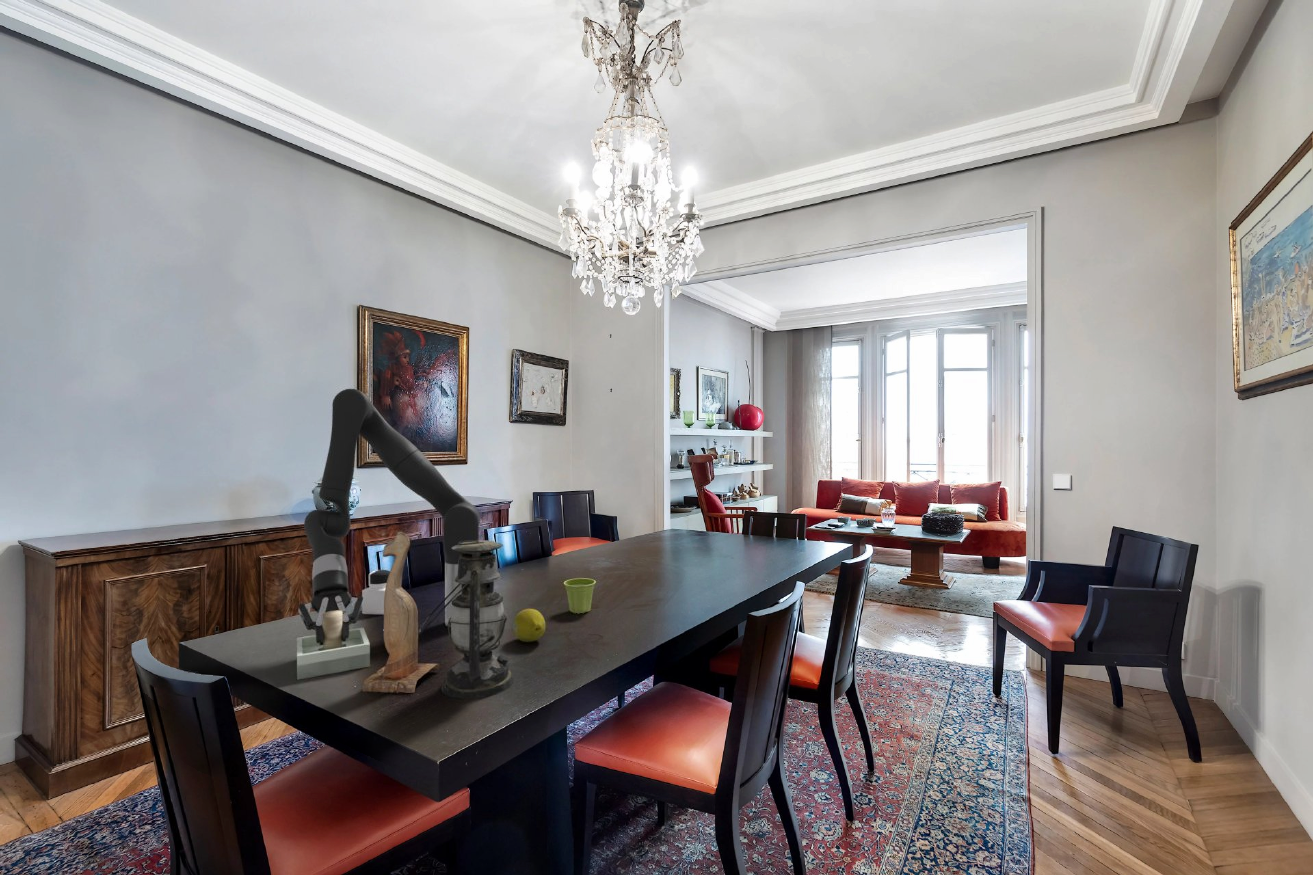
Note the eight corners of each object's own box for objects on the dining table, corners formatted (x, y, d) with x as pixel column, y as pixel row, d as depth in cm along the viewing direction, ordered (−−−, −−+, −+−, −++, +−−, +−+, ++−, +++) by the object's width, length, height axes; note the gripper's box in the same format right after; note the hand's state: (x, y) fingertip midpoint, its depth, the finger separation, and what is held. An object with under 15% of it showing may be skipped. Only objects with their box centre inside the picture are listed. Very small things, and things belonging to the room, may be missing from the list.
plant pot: (593, 615, 171) (593, 585, 171) (561, 615, 171) (561, 585, 171) (597, 606, 180) (597, 578, 180) (566, 606, 180) (566, 578, 180)
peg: (345, 653, 137) (345, 610, 137) (337, 659, 133) (337, 615, 133) (327, 653, 137) (327, 610, 137) (319, 659, 133) (319, 615, 133)
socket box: (363, 647, 145) (363, 627, 145) (369, 666, 133) (369, 644, 133) (296, 659, 138) (296, 637, 138) (297, 679, 126) (297, 656, 126)
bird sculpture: (388, 672, 130) (382, 528, 130) (440, 671, 130) (435, 526, 130) (361, 694, 119) (355, 536, 119) (418, 693, 119) (412, 534, 119)
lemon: (510, 636, 153) (510, 605, 153) (541, 633, 155) (541, 602, 156) (516, 650, 143) (516, 617, 143) (549, 646, 145) (548, 613, 145)
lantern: (512, 699, 115) (511, 546, 115) (408, 709, 111) (408, 550, 112) (514, 664, 134) (514, 532, 134) (425, 671, 130) (425, 535, 130)
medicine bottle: (397, 607, 180) (397, 568, 180) (384, 614, 173) (384, 573, 173) (375, 607, 181) (375, 568, 181) (361, 614, 174) (361, 573, 174)
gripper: (296, 572, 138) (296, 638, 128) (363, 565, 146) (369, 627, 135) (296, 590, 143) (296, 655, 132) (361, 582, 150) (366, 644, 140)
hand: (333, 641), depth 134 cm, fingers closed on peg, 4 cm apart
